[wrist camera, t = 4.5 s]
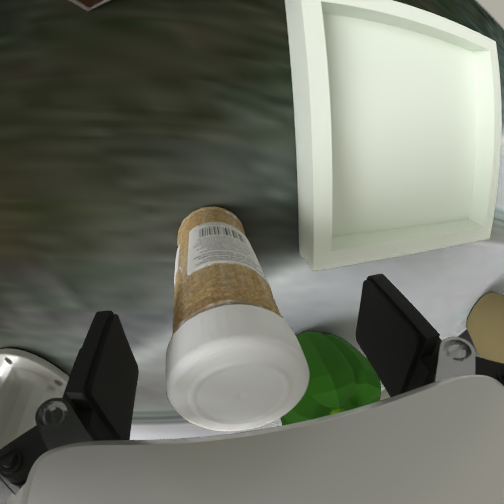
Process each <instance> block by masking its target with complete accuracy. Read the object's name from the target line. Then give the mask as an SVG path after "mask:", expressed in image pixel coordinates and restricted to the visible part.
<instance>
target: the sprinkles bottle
mask: <svg viewBox="0 0 504 504" xmlns="http://www.w3.org/2000/svg"><path fill="white" fill-rule="evenodd" d="M177 244H178V249H177V254H176V262H175V274H174V285H175V292H174V308H173V335H172V338H171V340H170V342H169V345H168V348H167V352H166V391H167V396H168V399H169V401H170V403H171V405H172V407H173V408H174V410H175V411H176V412H177V413H178V414H179V415H180V416H182V417H183V418H184V419H186V420H187V421H189V422H191V423H193V424H195V425H197V426H200V427H203V428H207V429H211V430H216V431H242V430H248V429H253V428H257V427H260V426H264V425H266V424H269V423H271V422H273V421H275V420H277V419H279V418H280V417H282V416H284V415H285V414H286V413H288V412H289V411H290V410H291V409H293V408H294V407H295V406H296V405H297V403H298V402H299V401H300V400H301V398H302V397H303V395H304V393H305V391H306V389H307V387H308V383H309V367H308V364H307V361H306V358H305V356H304V353H303V351H302V349H301V346H300V344H299V342H298V340H297V337H296V335H295V333H294V332H293V330H292V328H291V327H290V325H289V324H288V323H287V322H286V321H285V320H284V319H283V317H282V316H281V315H280V313H279V310H278V307H277V305H276V303H275V301H274V299H273V296H272V292H271V288H270V286H269V284H268V282H267V279H266V277H265V275H264V273H263V270H262V268H261V266H260V264H259V262H258V259H257V257H256V255H255V253H254V251H253V249H252V247H251V244H250V242H249V241H248V239H247V238H246V236H245V231H244V229H243V225H242V223H241V222H240V220H239V219H238V218H237V217H236V216H235V215H234V214H233V213H232V212H230V211H228V210H226V209H224V208H219V207H214V206H213V207H203V208H201V209H198V210H196V211H194V212H192V213H191V214H190V215H188V216H187V217H186V218H185V219H184V220H183V222H182V224H181V226H180V228H179V231H178V239H177Z"/></svg>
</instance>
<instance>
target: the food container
mask: <svg viewBox="0 0 504 504" xmlns="http://www.w3.org/2000/svg"><path fill="white" fill-rule="evenodd" d="M69 1H71V2H72V3H74V4H76V5H78V6H79V7H81V8H83V9H84V10H86V11H90V10H92V9H94V8H96V7H98V6H100V5H102V4H104V3H106V2H108V1H110V0H69Z"/></svg>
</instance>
